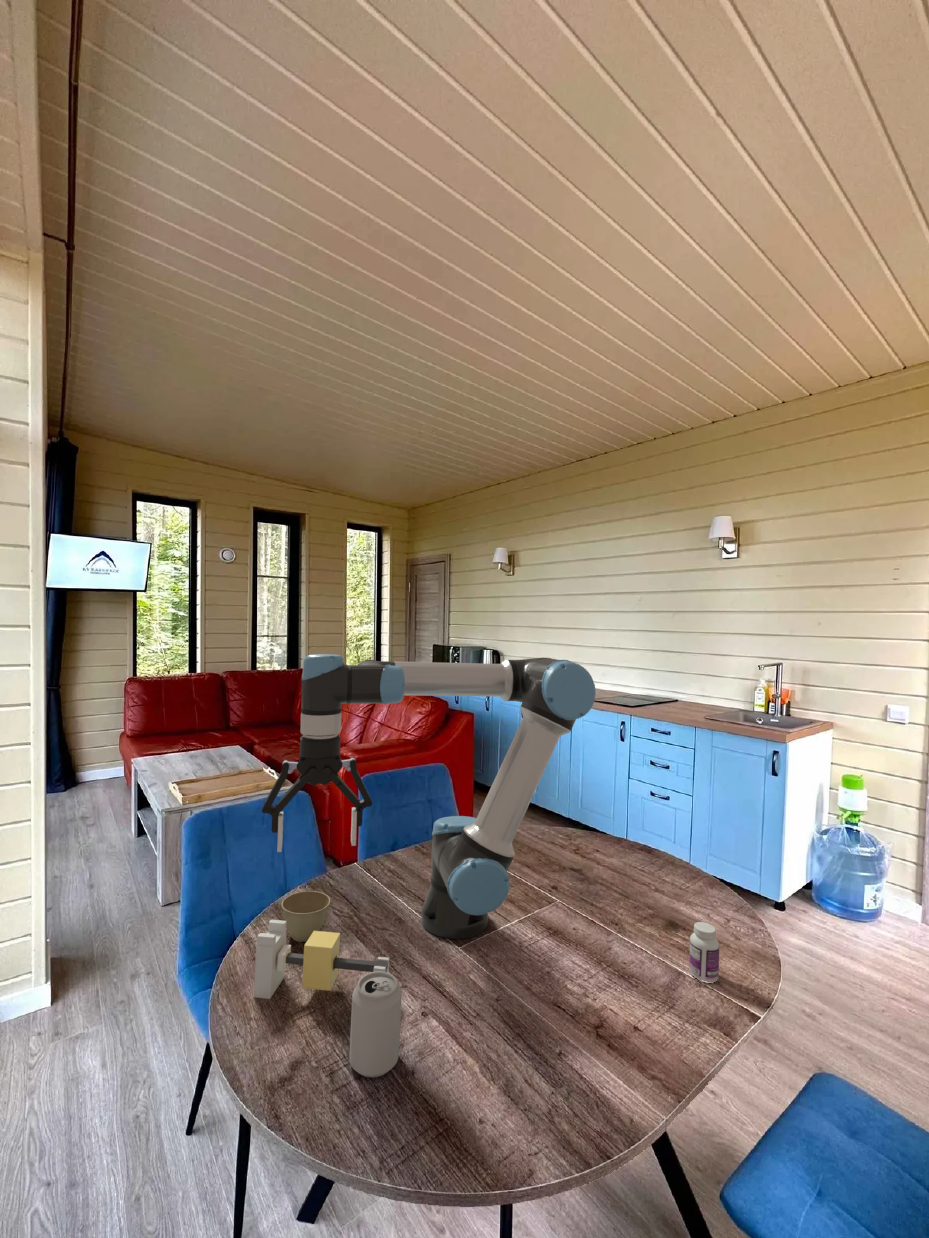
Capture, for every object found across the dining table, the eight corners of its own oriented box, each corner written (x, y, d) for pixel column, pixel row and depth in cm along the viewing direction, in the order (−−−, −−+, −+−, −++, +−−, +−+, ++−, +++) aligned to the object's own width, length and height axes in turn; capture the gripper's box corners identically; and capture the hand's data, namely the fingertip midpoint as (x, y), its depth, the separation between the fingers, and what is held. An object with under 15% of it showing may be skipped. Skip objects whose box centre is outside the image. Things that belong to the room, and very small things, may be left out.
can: (352, 1043, 87) (355, 967, 87) (399, 1042, 87) (402, 966, 88) (345, 1082, 79) (349, 999, 80) (397, 1081, 80) (401, 998, 80)
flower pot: (315, 952, 110) (317, 916, 110) (270, 944, 112) (272, 909, 112) (336, 926, 120) (338, 893, 120) (294, 919, 122) (296, 887, 122)
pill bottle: (716, 971, 110) (718, 923, 110) (719, 987, 105) (721, 936, 105) (687, 964, 112) (689, 917, 112) (689, 980, 107) (691, 930, 107)
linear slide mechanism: (389, 987, 100) (391, 929, 101) (381, 1010, 94) (384, 948, 95) (268, 975, 102) (271, 918, 103) (253, 997, 96) (256, 936, 97)
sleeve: (338, 973, 101) (340, 932, 101) (329, 990, 96) (331, 947, 96) (312, 970, 101) (314, 930, 101) (302, 987, 96) (304, 945, 96)
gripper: (383, 729, 112) (380, 833, 111) (253, 732, 105) (249, 843, 105) (388, 736, 104) (385, 848, 104) (249, 740, 98) (245, 859, 97)
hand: (317, 846), depth 104 cm, fingers open, 13 cm apart
